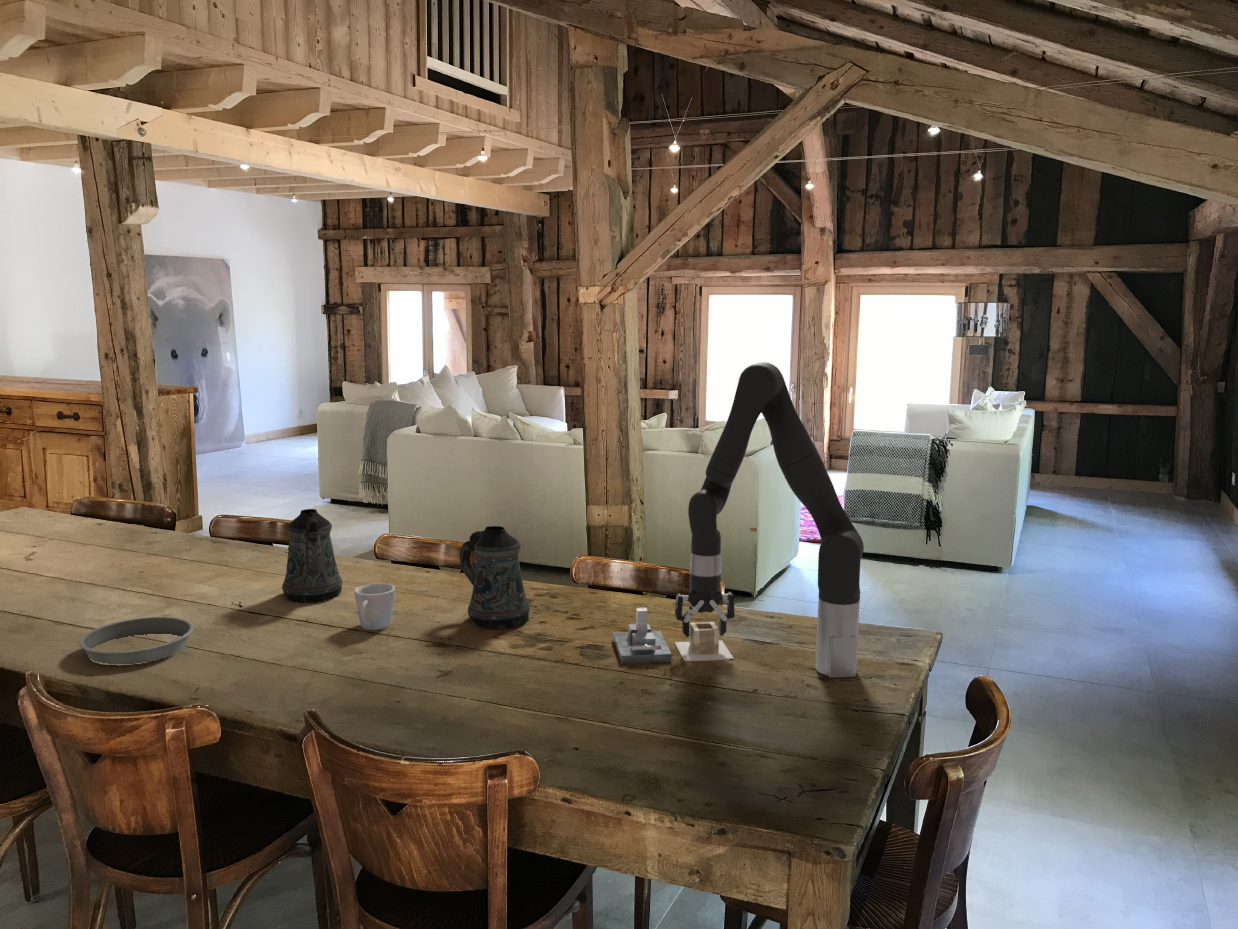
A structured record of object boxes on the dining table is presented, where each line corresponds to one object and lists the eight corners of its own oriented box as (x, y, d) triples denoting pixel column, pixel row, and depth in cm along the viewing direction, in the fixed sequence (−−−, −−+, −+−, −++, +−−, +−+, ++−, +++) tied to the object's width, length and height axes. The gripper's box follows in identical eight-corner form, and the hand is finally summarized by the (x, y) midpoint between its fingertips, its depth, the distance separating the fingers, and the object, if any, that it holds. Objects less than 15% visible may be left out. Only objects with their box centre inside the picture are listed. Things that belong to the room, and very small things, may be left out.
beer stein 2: (526, 630, 243) (525, 536, 239) (451, 629, 243) (449, 535, 239) (533, 610, 259) (532, 521, 255) (463, 609, 260) (461, 520, 255)
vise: (671, 662, 222) (672, 619, 220) (621, 664, 221) (621, 621, 219) (660, 638, 238) (660, 598, 236) (613, 640, 236) (613, 600, 234)
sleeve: (718, 653, 226) (719, 630, 225) (694, 654, 226) (694, 630, 225) (713, 645, 232) (713, 621, 231) (689, 645, 232) (689, 622, 231)
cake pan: (57, 658, 222) (55, 640, 221) (150, 627, 244) (149, 610, 243) (124, 677, 211) (123, 658, 210) (216, 643, 232) (215, 626, 232)
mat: (733, 659, 224) (733, 658, 224) (683, 661, 222) (683, 659, 222) (721, 642, 236) (722, 640, 235) (674, 643, 234) (674, 642, 234)
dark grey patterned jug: (321, 582, 283) (317, 501, 279) (360, 595, 271) (357, 510, 267) (271, 595, 270) (266, 510, 266) (309, 609, 258) (305, 520, 254)
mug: (401, 619, 250) (400, 583, 249) (382, 639, 236) (381, 600, 234) (363, 618, 251) (362, 582, 250) (342, 637, 237) (340, 599, 235)
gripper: (679, 576, 221) (678, 642, 224) (738, 574, 223) (736, 639, 225) (673, 567, 228) (672, 631, 231) (730, 565, 230) (729, 629, 233)
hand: (704, 635), depth 228 cm, fingers open, 8 cm apart
